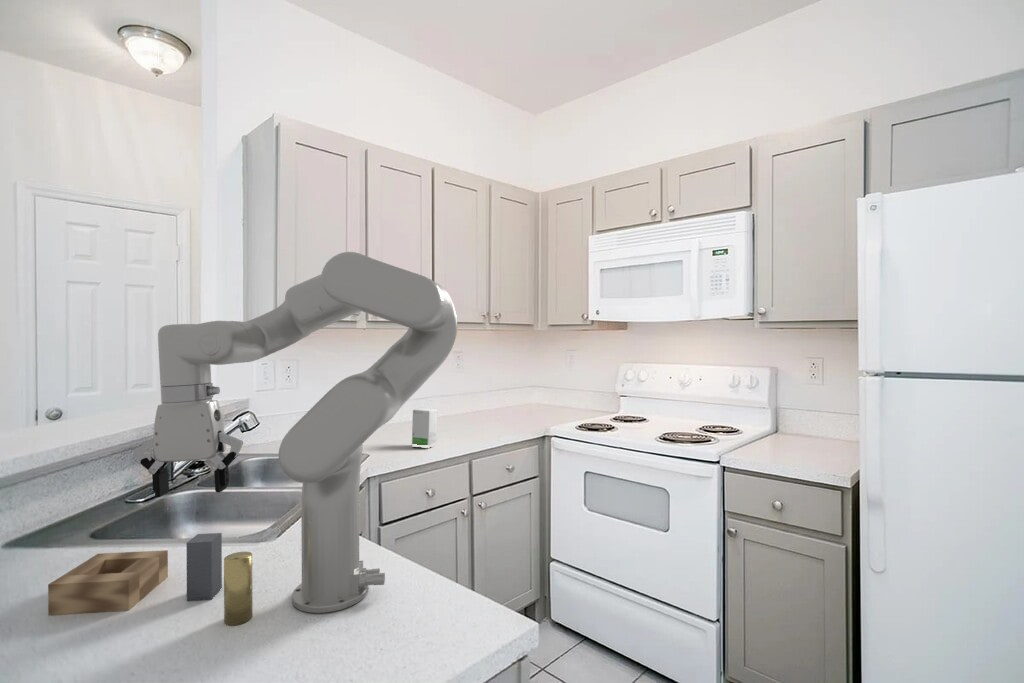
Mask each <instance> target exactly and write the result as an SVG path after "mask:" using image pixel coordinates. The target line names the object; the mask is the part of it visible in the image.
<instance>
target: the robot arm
mask: <svg viewBox="0 0 1024 683" xmlns="http://www.w3.org/2000/svg"><path fill="white" fill-rule="evenodd" d="M284 295H285V296H284V301H283V302H282V303H281V304H280V305H279V306H278V307H276V308H274V309H272V310H271V311H268V312H266V313H264V314H262V315H259V316H256V317H255V318H252V319H249V320H247V321H236V320H235V321H234V320H211V321H205V322H202V323H197V324H196V323H176V324H175V323H173V324H166V325H163V326H161V327H160V328H159V329H158V333H157V342H158V343H157V344H158V365H159V381H160V384H159V385H160V403H161V404H159V405H157V407H156V410H155V411H156V413H155V418H154V423H153V424H154V425H153V426H154V427H153V438H152V439H150V440H149V441H146V442H145V443H143V444H142V445H140V446H138V447H136V448H135V449H134V450H133V453H134V454H135V455H136V457H137V459H138V461H139V464H140V465H141V466H142V467H143V468H144V469H146V470H147V471H148V474H150V475H152V477H151V478H152V490H153V492H154V496H155V498H161V497H162V496H164V495H166V494H168V493H169V492H170V483H169V482H170V481H169V480H170V478H169V471H168V469H165V468H166V467H167V466H168V465H169V463H175V462H177V463H179V462H191V461H193V462H194V461H204V460H209V461H211V463H212V464H213V465H215V467H216V469H215V470H214V472H213V473H214V489H215V490H214V491H215V493H221V492H223V491H225V490H226V489H228V485H229V483H230V476H229V475H230V472H229V466H230V465H231V464H232V463H233V461H234V460H236V459H237V457H238V456H239V453H240V451H241V449H242V447H243V446H244V441H243V440H242V439H239V438H237V437H234V436H232V435H230V434H228V433H225V428H224V421H223V416H222V412H221V411H222V410H221V408H220V404H219V401H218V400H216V399H215V400H214V399H213V398H214V396H215V395H220V393H221V389H220V386H215V385H214V384H213V383H212V369H211V367H212V366H211V365H214V366H220V365H221V366H223V365H232V364H243V363H251V362H255V361H258V360H261V359H263V358H265V357H268V356H270V355H272V354H274V353H276V352H280V351H281V350H283V349H286V348H288V347H290V346H292V345H294V344H296V343H297V342H299V341H301V340H302V339H304V338H308V337H309V336H310V335H311V334H313V333H314V332H316V331H320V330H322V329H323V328H326V327H328V326H330V325H332V324H335V323H337V322H339V321H341V320H343V319H346V318H349V317H351V316H353V315H355V314H358V313H361V312H363V313H366V314H369V315H372V316H374V317H378V318H380V319H384V320H386V321H389V322H392V323H395V324H397V325H401V326H403V327H406V328H407V330H406V332H405V333H404V334H403V336H402V337H400V338H399V339H398V340H397V341H396V342H395V343H394V344H392V345H391V346H390V347H389V348H388V349H387V351H386V352H385V353H384V354H383V355H381V357H380V358H379V359H377V361H376V362H374V363H373V364H372V365H371V366H370V367H369V368H368V369H367V370H365V371H362V372H359V373H356V374H352V375H350V376H347V377H345V378H343V379H341V380H340V381H339V382H338V383H336V384H335V385H334V386H333V387H332V388H331V389H329V390H328V391H327V392H326V393H325V394H324V395H323V396H322V397H321V398H320V399H319V400H318V401H317V402H316V403H314V405H313V406H312V407H311V408H310V409H309V410H308V411H307V412H306V413H304V415H303V416H302V417H301V418H299V420H297V422H296V423H295V424H294V425H293V426H292V427H291V428H289V429H288V431H287V432H286V434H285V435H284V436H283V438H282V441H281V442H280V445H279V449H278V462H279V466H280V469H281V470H282V472H283V473H284V474H285V476H287V477H288V479H290V480H292V481H295V482H297V483H301V484H302V489H301V510H300V511H301V516H300V518H301V521H300V522H301V527H300V528H301V583H300V584H299V585H298V586H296V587H295V588H294V590H293V591H292V593H291V603H292V605H293V607H295V608H296V609H297V610H300V611H302V612H306V613H309V614H310V613H312V614H324V613H332V612H336V611H337V612H338V611H340V610H344V609H347V608H349V607H352V606H353V605H356V604H357V603H359V602H360V601H362V600H363V599H364V598H365V597H366V595H368V593H369V586H384V585H385V583H386V582H385V580H386V573H385V572H381V571H380V568H372V569H371V568H370V569H367V567H364V560H360V485H361V484H360V482H361V466H362V458H363V449H364V448H363V445H364V443H365V442H366V441H367V440H368V439H369V438H370V437H371V436H372V435H373V434H374V433H375V432H376V431H377V430H378V429H380V428H381V427H382V426H384V425H386V424H387V423H388V422H390V420H392V419H393V417H394V416H395V415H396V414H397V413H398V411H399V410H400V409H401V408H402V406H404V405H405V404H406V402H407V401H409V400H410V399H411V397H412V396H413V395H414V394H416V392H417V391H419V390H420V388H421V387H422V386H423V385H424V384H425V383H426V382H427V381H428V380H429V378H431V377H432V375H434V374H435V373H436V371H437V370H438V369H439V368H440V367H441V366H442V364H444V362H445V361H446V360H447V359H448V357H449V355H450V353H451V351H452V349H453V347H454V345H455V342H456V338H457V334H458V333H457V332H458V317H457V311H456V306H455V304H454V302H453V299H452V297H451V295H450V294H449V292H448V291H447V290H446V289H445V288H444V287H443V286H442V285H441V284H439V283H437V282H436V281H434V280H433V279H431V278H429V277H426V276H424V275H422V274H419V273H416V272H413V271H410V270H406V269H405V268H401V267H399V266H395V265H393V264H390V263H386V262H383V261H380V260H377V259H375V258H372V257H370V256H366V255H364V254H362V253H359V252H356V251H355V252H354V251H344V252H340V253H338V254H336V255H334V256H332V257H331V258H330V259H328V261H327V262H326V263H325V265H324V266H323V268H322V271H321V274H319V275H317V276H314V277H312V278H309V279H307V280H305V281H303V282H300V283H297V284H295V285H293V286H291V287H289V288H288V289H287V290H286V291H285V294H284ZM226 446H230V451H229V452H228V453H227V455H226V454H225V453H224V452H225V451H226V450H227V447H226ZM152 449H153V454H154V457H153V456H150V452H149V451H150V450H152Z"/></svg>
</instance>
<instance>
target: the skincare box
mask: <svg viewBox="0 0 1024 683" xmlns="http://www.w3.org/2000/svg"><path fill="white" fill-rule="evenodd" d="M437 424H438V409H435V408H427V407H418V408H414V409H412V428H411V430H412V431H411V445H412V444H417V445H431V444H433V443H435V442H436V443H437V432H438V431H437V429H438V427H437V426H438V425H437Z"/></svg>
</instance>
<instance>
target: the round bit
mask: <svg viewBox="0 0 1024 683" xmlns="http://www.w3.org/2000/svg"><path fill="white" fill-rule="evenodd" d="M223 612H224V613H223V617H224V619H223V624H224V625H225V624H226V625H225V626H227V625H228V626H227V627H236V626H240V625H243V624H246V623H248V622H249V621H251V620H252V618H253V615H254V614H253V553H252V552H251V551H238V552H233V553H230V554H228V555H226V556H225V557H224V558H223Z"/></svg>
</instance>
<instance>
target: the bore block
mask: <svg viewBox="0 0 1024 683" xmlns="http://www.w3.org/2000/svg"><path fill="white" fill-rule="evenodd" d="M168 554H169V553H168V550H146V551H144V550H143V551H126V552H125V551H124V552H108V553H107V552H106V553H104V552H103V553H97V554H95V555H94V556H91V558H89V559H87V560H85V561H83V562H82V563H80V564H79V565H77V566H76V567H74V568H72V569H71V570H69V571H68V572H66V573H65V574H63V575H61V576H60V577H58V578H56V579H55V580H53V581H52V582H49V583H48V585H47V589H48V590H47V594H48V595H47V597H48V598H47V603H48V606H47V607H48V608H47V610H48V612H47V614H48V616H59V615H75V614H88V613H89V614H90V613H91V614H92V613H94V614H95V613H106V612H107V613H108V612H110V613H111V612H123V611H125V612H126V611H130V610H132V608H133V607H135V606H136V605H137V604H138V603H139V602H140V601H141V600H143V599H144V598H145V597H147V595H149V594H150V593H151V592H153V590H155V589H156V588H157V587H158V586H160V584H161V583H162V582H164V581H165V580H166V579H167V578H168V576H169V569H168V568H169V565H168V564H169V562H168V561H169V555H168Z"/></svg>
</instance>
